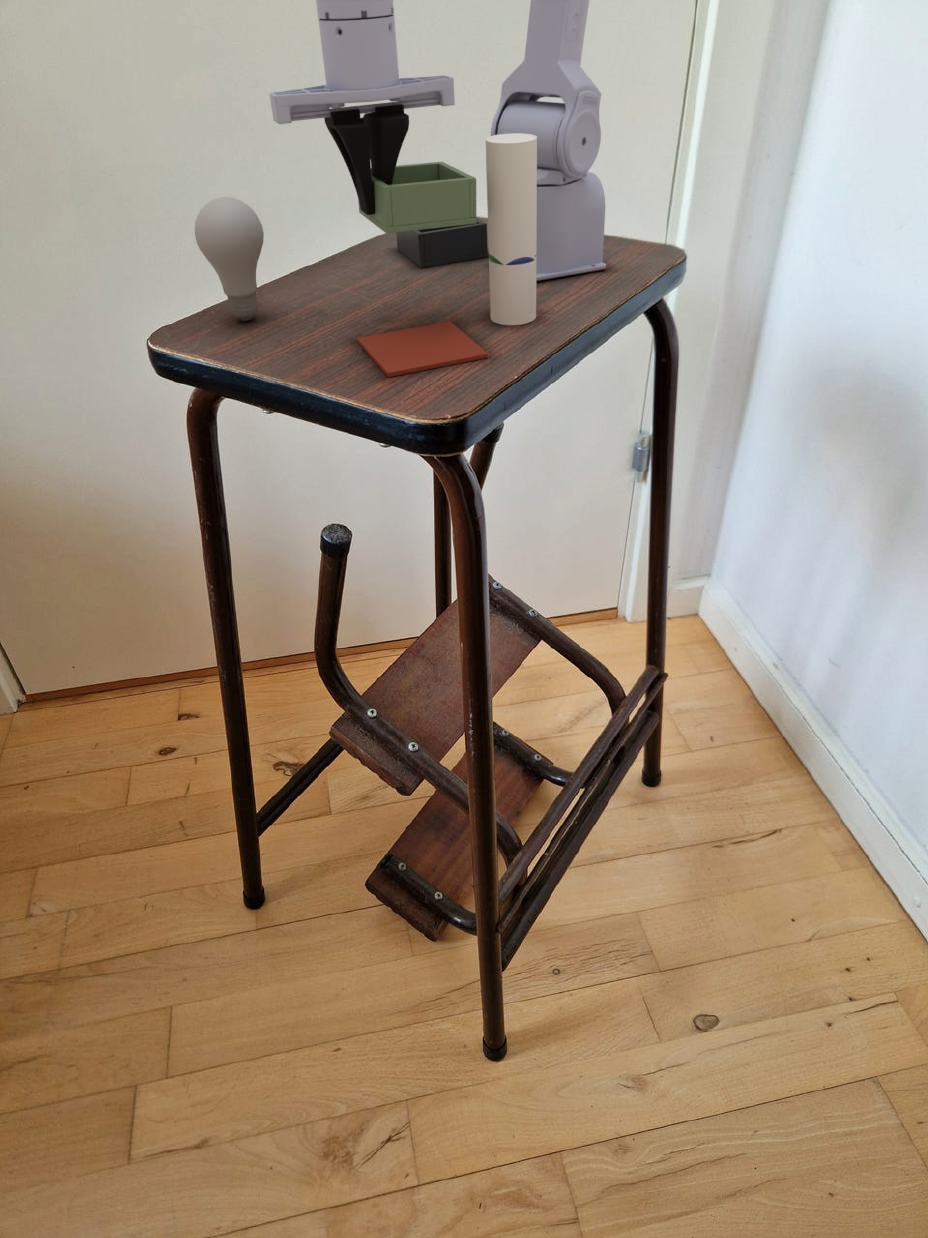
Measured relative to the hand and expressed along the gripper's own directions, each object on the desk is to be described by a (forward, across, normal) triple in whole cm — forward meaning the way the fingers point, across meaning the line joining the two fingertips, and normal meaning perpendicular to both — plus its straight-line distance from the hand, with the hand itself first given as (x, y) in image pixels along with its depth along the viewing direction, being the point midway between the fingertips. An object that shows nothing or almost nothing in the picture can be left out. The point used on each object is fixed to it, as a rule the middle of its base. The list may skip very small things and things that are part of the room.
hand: (375, 210), depth 75 cm
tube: (+11, -12, +2) cm, 16 cm away
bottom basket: (+10, -13, -21) cm, 27 cm away
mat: (+10, -1, +5) cm, 12 cm away
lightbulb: (+11, +11, -10) cm, 18 cm away
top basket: (+1, -4, 0) cm, 4 cm away
